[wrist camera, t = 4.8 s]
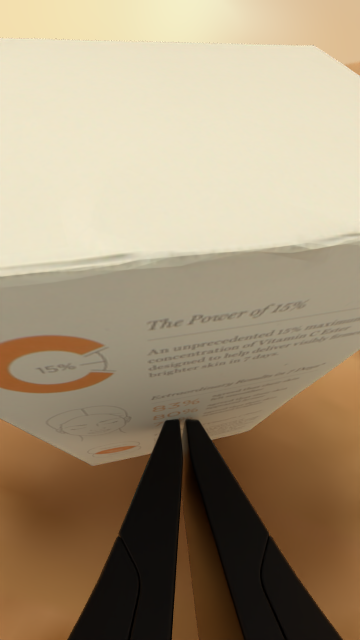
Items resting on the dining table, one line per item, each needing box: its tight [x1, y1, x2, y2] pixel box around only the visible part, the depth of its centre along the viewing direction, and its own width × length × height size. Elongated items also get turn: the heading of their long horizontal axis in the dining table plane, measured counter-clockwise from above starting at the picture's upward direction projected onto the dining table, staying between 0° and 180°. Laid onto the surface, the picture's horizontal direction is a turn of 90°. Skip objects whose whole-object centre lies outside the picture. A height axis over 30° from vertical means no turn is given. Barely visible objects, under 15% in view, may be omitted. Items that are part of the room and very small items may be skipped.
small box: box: [0, 38, 360, 466], centre depth 10 cm, size 8×6×13 cm
